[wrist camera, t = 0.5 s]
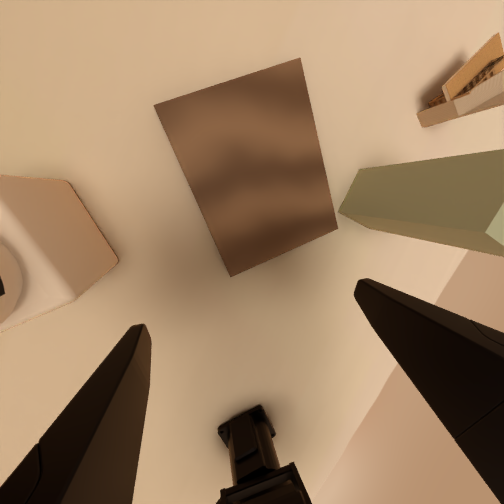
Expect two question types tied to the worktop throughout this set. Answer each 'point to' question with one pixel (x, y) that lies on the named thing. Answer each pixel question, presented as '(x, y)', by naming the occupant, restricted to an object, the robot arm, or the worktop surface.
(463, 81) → the architectural model
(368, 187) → the sage block
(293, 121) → the walnut board
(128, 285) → the worktop surface
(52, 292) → the container
